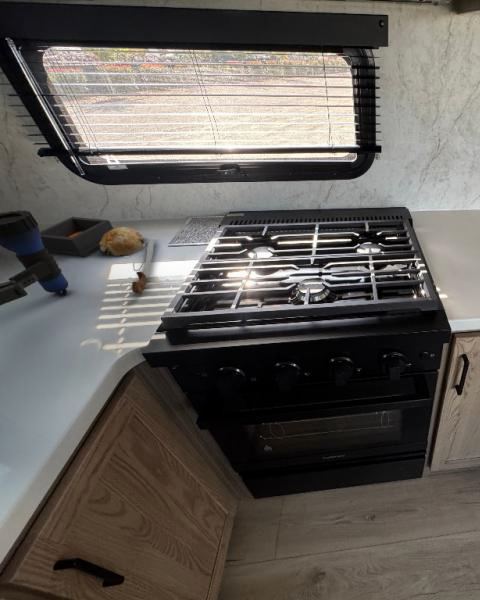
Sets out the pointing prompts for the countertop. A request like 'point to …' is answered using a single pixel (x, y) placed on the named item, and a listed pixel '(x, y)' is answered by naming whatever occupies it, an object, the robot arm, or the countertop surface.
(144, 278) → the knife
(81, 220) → the dark grey tray
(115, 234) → the bread roll
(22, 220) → the flashlight
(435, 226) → the countertop surface
